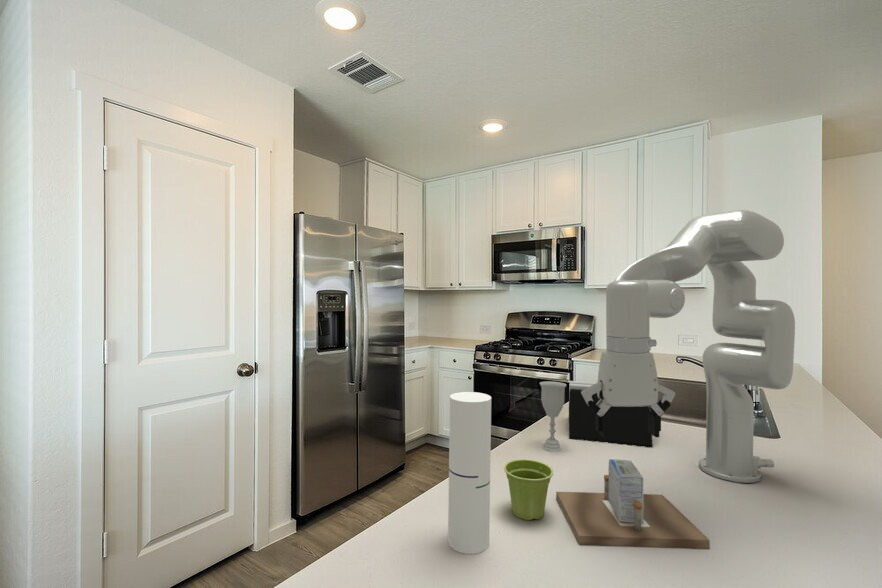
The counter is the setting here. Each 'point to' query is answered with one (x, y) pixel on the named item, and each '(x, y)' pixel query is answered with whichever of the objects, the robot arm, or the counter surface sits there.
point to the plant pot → (528, 487)
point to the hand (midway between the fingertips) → (627, 434)
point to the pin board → (602, 526)
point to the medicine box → (625, 489)
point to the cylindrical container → (469, 472)
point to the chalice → (552, 409)
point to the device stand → (621, 421)
